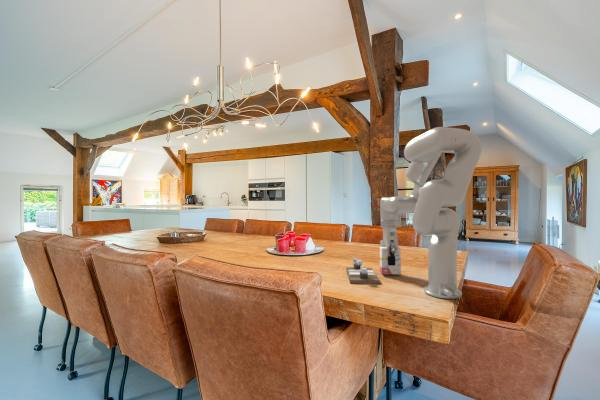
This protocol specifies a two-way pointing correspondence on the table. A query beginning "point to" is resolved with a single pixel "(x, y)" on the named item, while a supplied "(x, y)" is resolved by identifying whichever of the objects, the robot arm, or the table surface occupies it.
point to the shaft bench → (362, 281)
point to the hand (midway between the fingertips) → (390, 263)
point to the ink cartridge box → (384, 261)
